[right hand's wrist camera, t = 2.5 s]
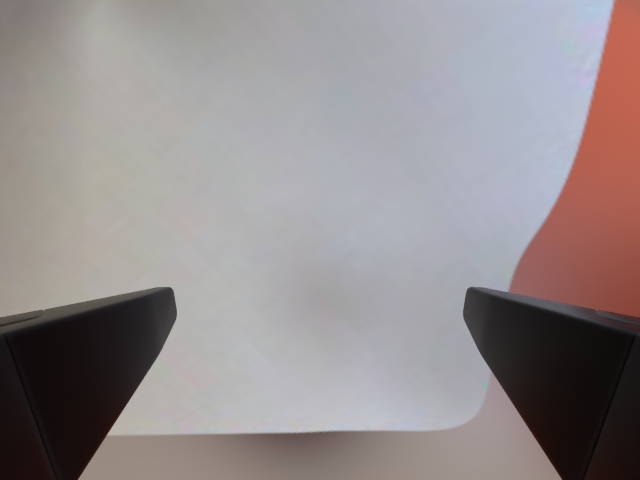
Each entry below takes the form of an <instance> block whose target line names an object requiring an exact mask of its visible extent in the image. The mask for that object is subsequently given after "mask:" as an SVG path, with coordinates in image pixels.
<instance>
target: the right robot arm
mask: <svg viewBox="0 0 640 480" xmlns="http://www.w3.org/2000/svg"><path fill="white" fill-rule="evenodd" d="M176 317H177V309H176V303H175V297H174V292H173V289H172V288H170V287H157V288H152V289H147V290H142V291H137V292H132V293H127V294H122V295H117V296H112V297H107V298H101V299H96V300H91V301H86V302H81V303H76V304H71V305H66V306H61V307H56V308H51V309H46V310H44V311H43V310H38V311H33V312H28V313H22V314H17V315H12V316H7V317H1V318H0V480H78V479H79V477H80V476H81V474H82V472H83V471H84V469H85V468H86V466H87V465H88V463H89V462H90V460H91V459H92V457H93V455H94V454H95V452H96V451H97V449H98V448H99V446H100V445H101V443H102V441H103V440H104V439H105V437H106V435H107V434H108V432H109V431H110V429H111V428H112V426H113V425H114V423H115V422H116V420H117V419H118V417H119V415H120V414H121V412H122V411H123V409H124V408H125V406H126V405H127V403H128V402H129V400H130V398H131V397H132V395H133V394H134V392H135V391H136V389H137V388H138V386H139V385H140V383H141V382H142V380H143V378H144V377H145V375H146V374H147V372H148V371H149V369H150V368H151V366H152V365H153V363H154V362H155V360H156V358H157V357H158V355H159V353H160V352H161V350H162V348H163V346H164V344H165V341H166V339H167V337H168V335H169V333H170V331H171V329H172V327H173V325H174V323H175V320H176ZM463 317H464V320H465V323H466V325H467V327H468V329H469V331H470V333H471V335H472V337H473V339H474V341H475V344H476V346H477V348H478V350H479V352H480V353H481V355H482V357H483V358H484V360H485V362H486V363H487V365H488V366H489V368H490V369H491V371H492V372H493V374H494V375H495V377H496V378H497V380H498V382H499V383H500V385H501V386H502V388H503V389H504V391H505V392H506V394H507V395H508V397H509V398H510V400H511V401H512V403H513V405H514V406H515V408H516V409H517V411H518V412H519V414H520V415H521V417H522V418H523V420H524V422H525V423H526V425H527V426H528V428H529V429H530V431H531V432H532V434H533V435H534V437H535V439H536V440H537V442H538V443H539V445H540V446H541V448H542V449H543V451H544V452H545V454H546V455H547V457H548V459H549V460H550V462H551V463H552V465H553V466H554V468H555V469H556V471H557V472H558V474H559V476H560V477H561V479H562V480H640V318H639V317H633V316H628V315H623V314H618V313H612V312H607V311H602V310H597V311H596V310H594V309H590V308H584V307H579V306H574V305H569V304H564V303H559V302H554V301H549V300H544V299H539V298H533V297H528V296H523V295H518V294H513V293H508V292H503V291H498V290H493V289H488V288H483V287H470V288H468V289H467V292H466V297H465V303H464V309H463Z"/></svg>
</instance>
